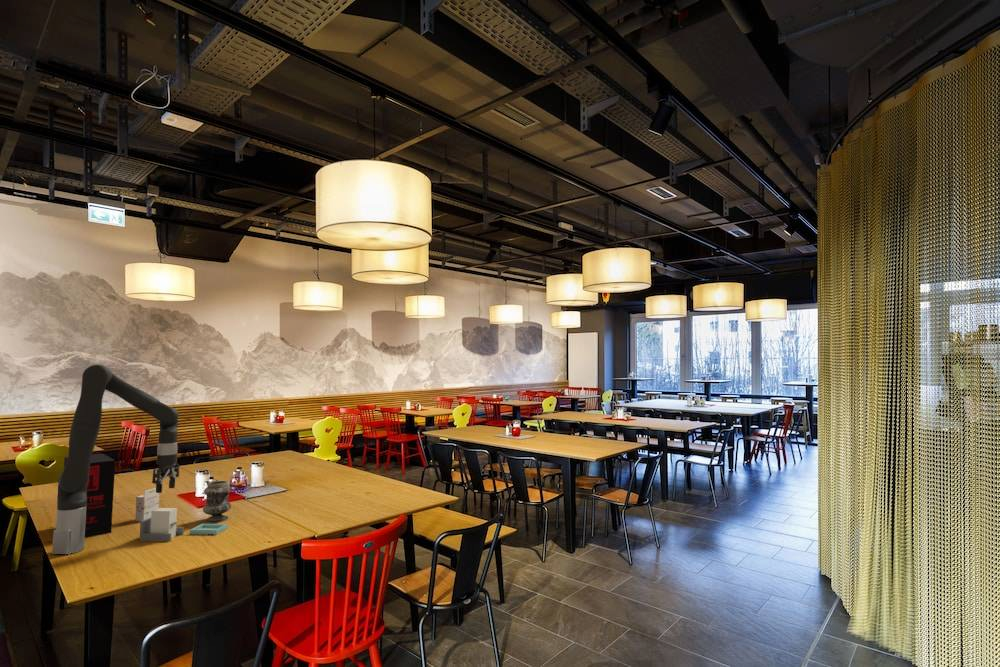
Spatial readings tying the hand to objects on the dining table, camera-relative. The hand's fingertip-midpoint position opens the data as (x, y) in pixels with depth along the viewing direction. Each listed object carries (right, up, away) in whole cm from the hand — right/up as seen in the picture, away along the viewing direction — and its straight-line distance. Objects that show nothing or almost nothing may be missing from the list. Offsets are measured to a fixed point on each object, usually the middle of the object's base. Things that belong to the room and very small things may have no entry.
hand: (165, 490), depth 226 cm
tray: (+15, -21, +7) cm, 27 cm away
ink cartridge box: (-25, -22, +25) cm, 42 cm away
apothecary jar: (+9, -22, +25) cm, 35 cm away
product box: (-42, -21, +8) cm, 47 cm away
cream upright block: (0, -20, -2) cm, 20 cm away
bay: (0, -20, -2) cm, 20 cm away
